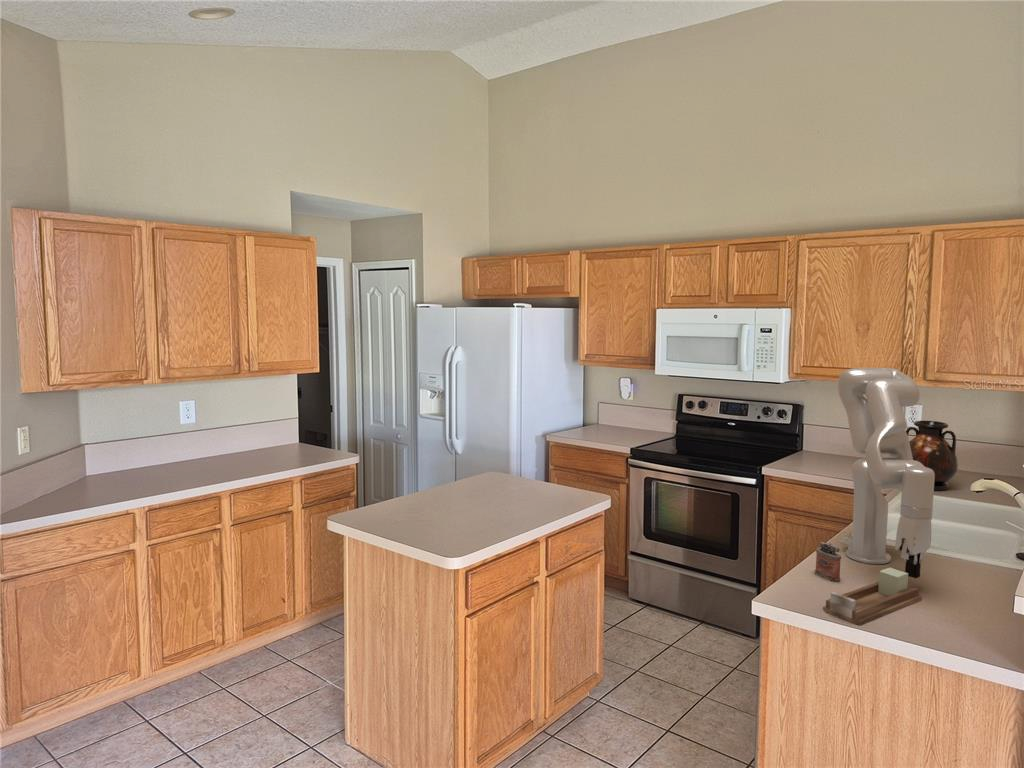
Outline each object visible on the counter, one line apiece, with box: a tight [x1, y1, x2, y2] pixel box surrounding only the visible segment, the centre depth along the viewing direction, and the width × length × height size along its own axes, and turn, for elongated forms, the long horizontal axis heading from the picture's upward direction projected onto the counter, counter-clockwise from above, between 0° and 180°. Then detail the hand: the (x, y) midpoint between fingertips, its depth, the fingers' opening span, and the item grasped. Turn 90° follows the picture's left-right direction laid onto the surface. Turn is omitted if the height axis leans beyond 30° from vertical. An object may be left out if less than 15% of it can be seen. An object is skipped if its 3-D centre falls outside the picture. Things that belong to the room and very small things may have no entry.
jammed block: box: [878, 567, 909, 596], centre depth 187 cm, size 5×5×6 cm
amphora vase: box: [905, 420, 959, 492], centre depth 299 cm, size 22×22×28 cm
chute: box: [822, 580, 922, 626], centre depth 183 cm, size 10×28×6 cm, turn 121°
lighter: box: [814, 541, 842, 583], centre depth 201 cm, size 8×3×10 cm, turn 23°
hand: (912, 576), depth 192 cm, fingers closed
